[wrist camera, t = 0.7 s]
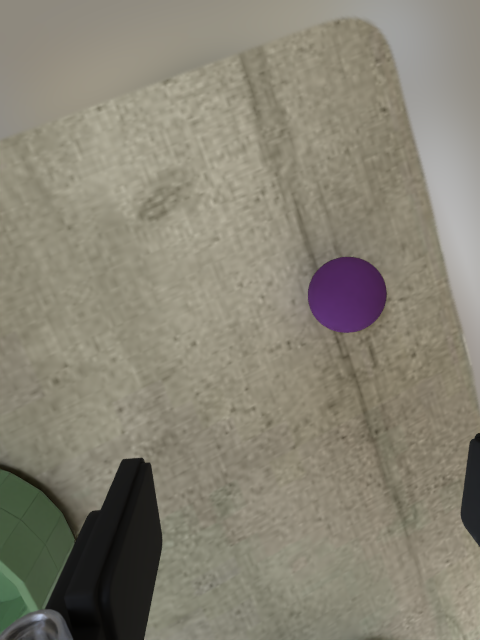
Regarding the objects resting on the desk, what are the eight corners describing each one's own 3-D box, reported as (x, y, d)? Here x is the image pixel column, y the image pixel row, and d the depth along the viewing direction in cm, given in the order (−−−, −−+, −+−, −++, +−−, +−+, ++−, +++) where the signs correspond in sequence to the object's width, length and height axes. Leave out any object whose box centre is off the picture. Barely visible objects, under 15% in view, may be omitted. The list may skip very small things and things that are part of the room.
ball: (290, 306, 24) (303, 326, 20) (319, 242, 23) (339, 248, 19) (350, 330, 25) (376, 354, 20) (382, 268, 24) (415, 280, 19)
